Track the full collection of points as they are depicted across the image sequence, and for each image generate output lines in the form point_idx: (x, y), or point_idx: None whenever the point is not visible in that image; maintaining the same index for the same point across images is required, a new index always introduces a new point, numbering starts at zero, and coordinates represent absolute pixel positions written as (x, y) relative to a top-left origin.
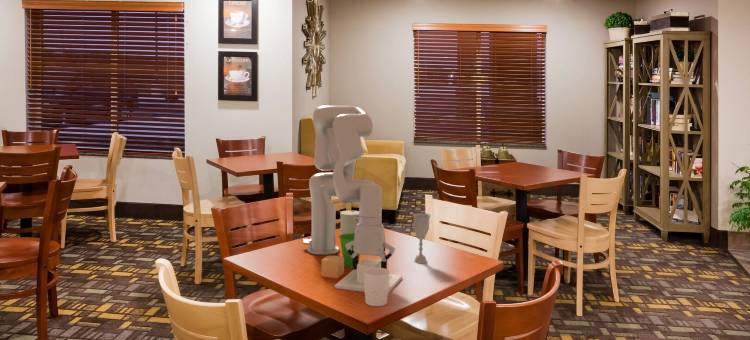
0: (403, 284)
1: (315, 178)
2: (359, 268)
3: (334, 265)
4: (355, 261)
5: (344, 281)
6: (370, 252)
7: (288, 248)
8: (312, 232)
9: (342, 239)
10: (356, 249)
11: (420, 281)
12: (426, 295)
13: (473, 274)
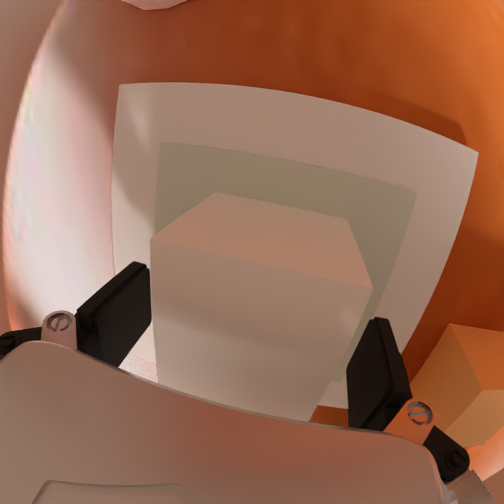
0: (99, 267)
1: None
2: (337, 260)
3: (486, 371)
4: (386, 369)
5: (429, 233)
6: (131, 415)
7: (487, 470)
8: None
9: None
10: (408, 489)
11: (66, 306)
12: (13, 149)
13: None
